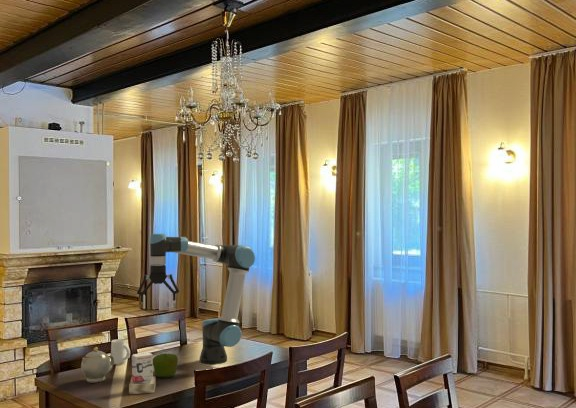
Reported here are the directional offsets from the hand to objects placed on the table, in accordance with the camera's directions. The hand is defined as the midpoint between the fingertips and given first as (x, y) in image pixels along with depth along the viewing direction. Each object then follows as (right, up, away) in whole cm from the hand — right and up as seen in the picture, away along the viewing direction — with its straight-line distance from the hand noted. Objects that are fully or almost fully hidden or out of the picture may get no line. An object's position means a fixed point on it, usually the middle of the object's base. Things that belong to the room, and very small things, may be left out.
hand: (158, 308), depth 283 cm
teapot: (-29, -35, -2) cm, 46 cm away
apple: (+3, -35, +4) cm, 35 cm away
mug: (-27, -36, +32) cm, 55 cm away
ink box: (-3, -30, -18) cm, 35 cm away
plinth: (-3, -34, -18) cm, 39 cm away
